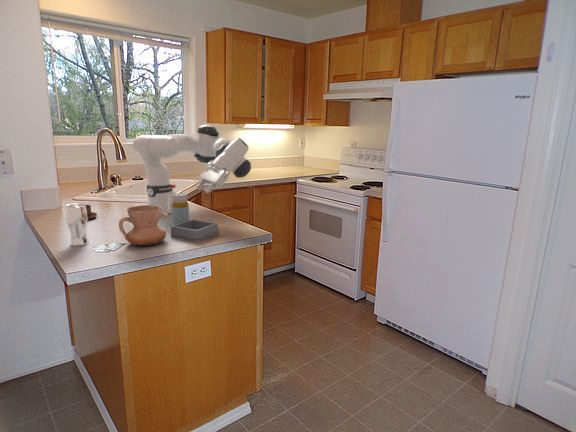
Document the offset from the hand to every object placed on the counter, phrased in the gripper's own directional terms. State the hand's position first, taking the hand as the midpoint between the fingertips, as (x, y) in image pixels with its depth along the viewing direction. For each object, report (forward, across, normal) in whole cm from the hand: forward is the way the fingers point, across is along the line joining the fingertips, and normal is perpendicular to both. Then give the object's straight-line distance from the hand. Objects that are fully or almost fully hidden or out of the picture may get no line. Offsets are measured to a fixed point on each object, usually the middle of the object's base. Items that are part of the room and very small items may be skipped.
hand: (202, 190), depth 173 cm
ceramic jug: (+32, -15, +9) cm, 36 cm away
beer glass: (+47, -3, +24) cm, 53 cm away
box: (+18, -14, -5) cm, 23 cm away
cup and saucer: (+44, +39, +21) cm, 62 cm away
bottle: (+19, +1, -4) cm, 19 cm away
